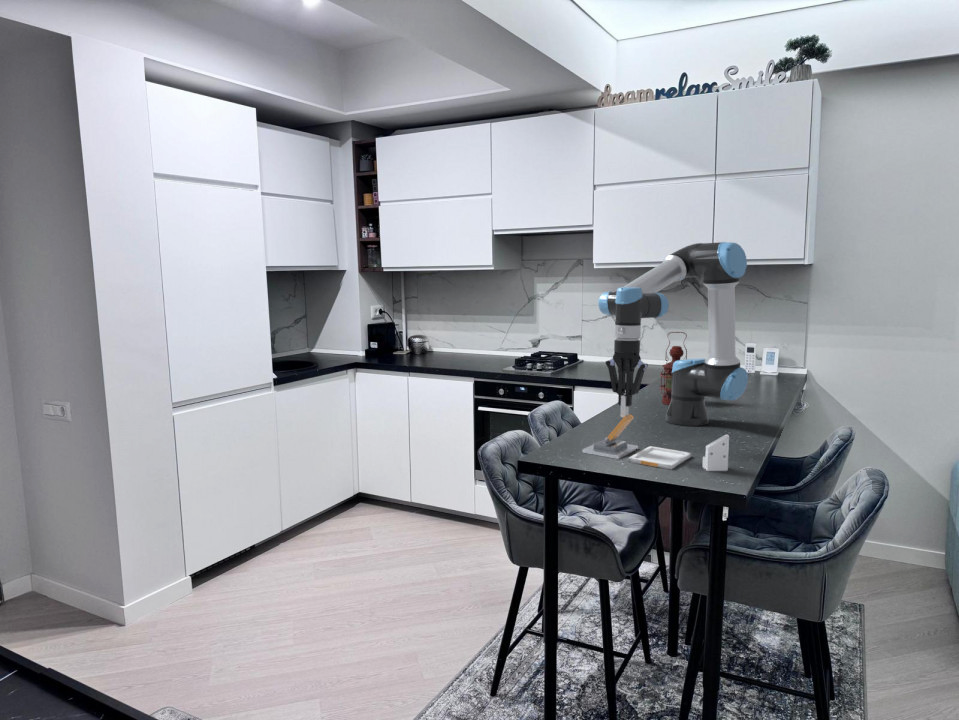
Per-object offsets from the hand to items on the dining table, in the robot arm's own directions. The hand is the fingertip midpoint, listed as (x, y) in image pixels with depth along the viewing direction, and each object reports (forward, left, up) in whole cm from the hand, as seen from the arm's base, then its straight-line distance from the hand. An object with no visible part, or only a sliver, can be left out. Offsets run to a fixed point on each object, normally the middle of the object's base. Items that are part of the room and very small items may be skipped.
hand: (624, 416), depth 202 cm
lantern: (-83, -15, -12) cm, 85 cm away
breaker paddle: (0, -4, -8) cm, 9 cm away
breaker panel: (0, -4, -11) cm, 12 cm away
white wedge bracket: (0, +28, -12) cm, 30 cm away
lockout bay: (0, +12, -11) cm, 16 cm away
